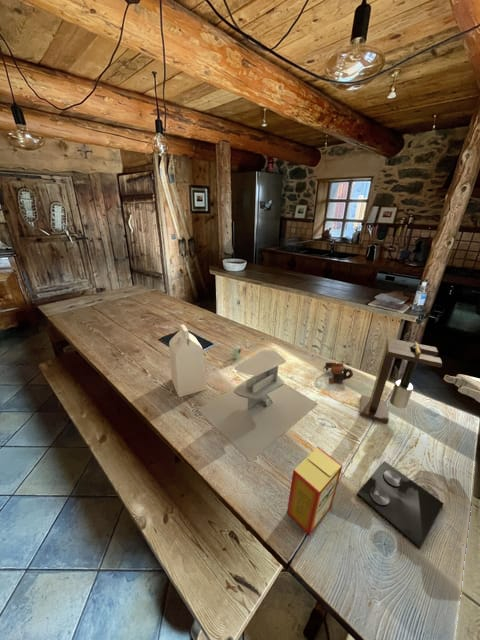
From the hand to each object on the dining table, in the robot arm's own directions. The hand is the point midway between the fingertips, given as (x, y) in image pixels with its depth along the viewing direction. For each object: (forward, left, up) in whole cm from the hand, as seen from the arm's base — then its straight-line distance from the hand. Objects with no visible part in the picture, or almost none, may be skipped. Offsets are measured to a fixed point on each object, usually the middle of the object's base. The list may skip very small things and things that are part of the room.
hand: (452, 382), depth 77 cm
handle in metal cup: (+11, -1, -16) cm, 20 cm away
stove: (-3, +28, -22) cm, 36 cm away
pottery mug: (+36, -4, -23) cm, 43 cm away
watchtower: (+44, +34, -23) cm, 60 cm away
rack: (+13, 0, -22) cm, 26 cm away
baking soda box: (+10, +48, -23) cm, 54 cm away
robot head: (+74, +21, -23) cm, 80 cm away
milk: (+71, +48, -23) cm, 89 cm away
